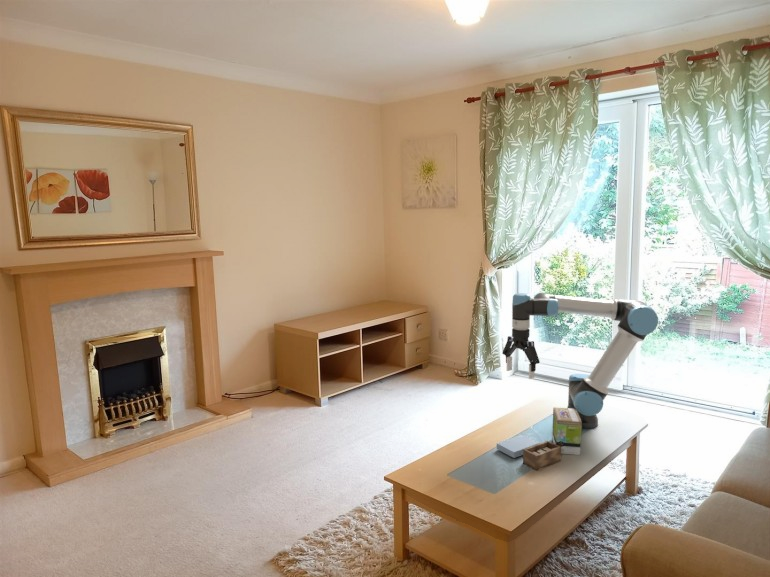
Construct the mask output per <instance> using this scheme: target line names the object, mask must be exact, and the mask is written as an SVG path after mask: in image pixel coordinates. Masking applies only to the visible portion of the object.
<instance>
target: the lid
mask: <svg viewBox="0 0 770 577" xmlns="http://www.w3.org/2000/svg"><path fill="white" fill-rule="evenodd" d="M540 443H541V442H539V441H537V440H534V439H533V438H530V437H528V436H526V435H524V434H520V435H517V436H514V437H511V438H508V439H505V440H502V441H499V442H497V443H496V450H498V451H500V452H501V453H503V454H505V455H507V456H509V457H511V458H513V459H515V458H517V457H521V456H523V449H526V448H529V447H531V446H534V445H537V444H540Z"/></svg>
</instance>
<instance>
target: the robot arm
mask: <svg viewBox="0 0 770 577" xmlns="http://www.w3.org/2000/svg"><path fill="white" fill-rule="evenodd" d="M511 305H512V308H511V309H512V311H511V313H512V314H511V315H512V320H511V325H512V326H511V327H512V329H511V335H509V336H507V339H506V340H507V341H506V343H505V344H504V348H503V350H502V351H501V352H502V355H503V356H505V363H506V371H507V372H509V371H512V370H513V353H514V352H515V351H516V349H519V350H522V352H524V354H525V356H526V358H527V360H528V362H529V364H528V379H529V380H530V379H534V378H535V372H536V368H537V367H536V366H537V364H540V363H541V361H540V358H539V356H538V353H537V350H536V347H535V341H534V340H533V341H530V340H529V338H530V332H531V330H530V327H531V326H530V322H531V321H530V318H531V316H538V317H539V316H541V317H555V316H558V314H559V313H565V314H574V315H585V316H591V317H592V316H593V317H602V318H609V319H611V320H612V321H617V322H619V323H618V325H617V330H618V331H617V333H616V334H615V336H614V337H613V339H612V341H611V342H610V344H608V347H607V348H606V350H605V351H604V353H603V354H602V356H601V357H600V359H599V360H598V362H597V364H596V365H595V367H594V368H593V370H592V371H591V373H590V374H587V373H573V374H570V375H569V376H568V398H567V399H568V401H567V402H568V403H567V404H568V405H567V407H566V408H572V409H577V412H578V414H579V417H580V419H581V422H582V428H581V429H587V430H588V429H594V428H596V427H597V426H598V425H599V418H598V416H597V415H598V414H599V413H601V411H602V410H603V407H604V400H605V399H606V397H607V395H608V394H609V391H608V387H609V386H610V384H611V382H612V381H613V380H614V378H615V377H616V375H617V374H618V372H619V370H620V369H621V367H622V366H623V364H624V363H625V362H626V360H627V358H628V357H629V356H630V354H631V352H632V351H633V349H634V348H635V346H636V345H637V343H639V342H642V341H643V342H644V340H645V339H646V337H647V336H648V335H650V334H652V333H653V332H654V331H656V329H657V327H658V324H659V317H658V315H657V313H656V311H655V310H654V309H653V308H652V307H651V306H649V305H647V304H646V303H644V302H643V301H640V300H636V299H634V300H633V299H617V298H614V299H612V300H605V299H596V298H586V297H577V296H567V295H565V296H564V295H556V294H547V293H546V292H538V293H537V294H535V295H534V297H533V298H531V295H530V294H528V293H522V292H521V293H520V292H518V293H515V294H513V296H512V303H511Z"/></svg>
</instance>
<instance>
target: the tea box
mask: <svg viewBox="0 0 770 577" xmlns="http://www.w3.org/2000/svg"><path fill="white" fill-rule="evenodd" d="M552 413H553V414H552V432H551V433H552V434H551V435H552V443H554V444H556V445H558V446H560V447H561V455H575V456H576V455H577V456H580V455H581V445H582V444H581V442H582V429H583V428H582V422H581V419H580V417H579V414H578V412H577V409H572V408H567V407H553V412H552Z"/></svg>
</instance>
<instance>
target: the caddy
mask: <svg viewBox="0 0 770 577" xmlns="http://www.w3.org/2000/svg"><path fill="white" fill-rule="evenodd" d="M539 443H540V444H537V445H534V446H531V447H529V448H526V449H523V455H522V464H524V465H525V466H527V467H528V468H531V469H532V470H535V471H539V470H542V469H544V468H547V467H549V466H550V467H551V465H554V464H557V463H560V462H561V461H562V454H561V447H560V446H558V445H556V444H554V443H553V441H552V442H551V441H549V440H545V441H542V442H539Z"/></svg>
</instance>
